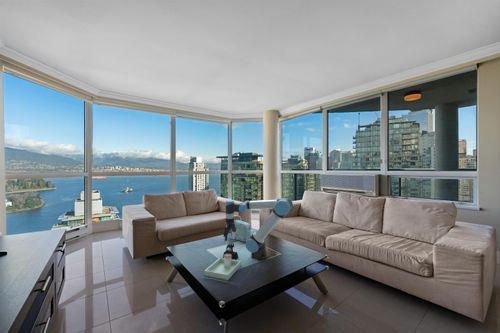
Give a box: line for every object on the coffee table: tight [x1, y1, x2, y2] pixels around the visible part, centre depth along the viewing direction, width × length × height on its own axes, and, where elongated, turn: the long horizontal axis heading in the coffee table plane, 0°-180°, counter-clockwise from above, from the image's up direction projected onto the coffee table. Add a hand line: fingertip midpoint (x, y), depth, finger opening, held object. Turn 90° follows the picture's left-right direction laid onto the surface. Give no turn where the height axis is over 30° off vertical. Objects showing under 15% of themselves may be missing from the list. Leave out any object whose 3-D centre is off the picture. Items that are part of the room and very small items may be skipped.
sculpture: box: [222, 242, 239, 260], centre depth 189 cm, size 8×13×15 cm, turn 59°
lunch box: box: [230, 219, 252, 243], centre depth 238 cm, size 27×10×21 cm, turn 45°
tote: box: [203, 257, 242, 282], centre depth 166 cm, size 20×24×4 cm
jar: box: [224, 254, 232, 268], centre depth 173 cm, size 6×6×9 cm
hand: (230, 241), depth 189 cm, fingers open, 13 cm apart
